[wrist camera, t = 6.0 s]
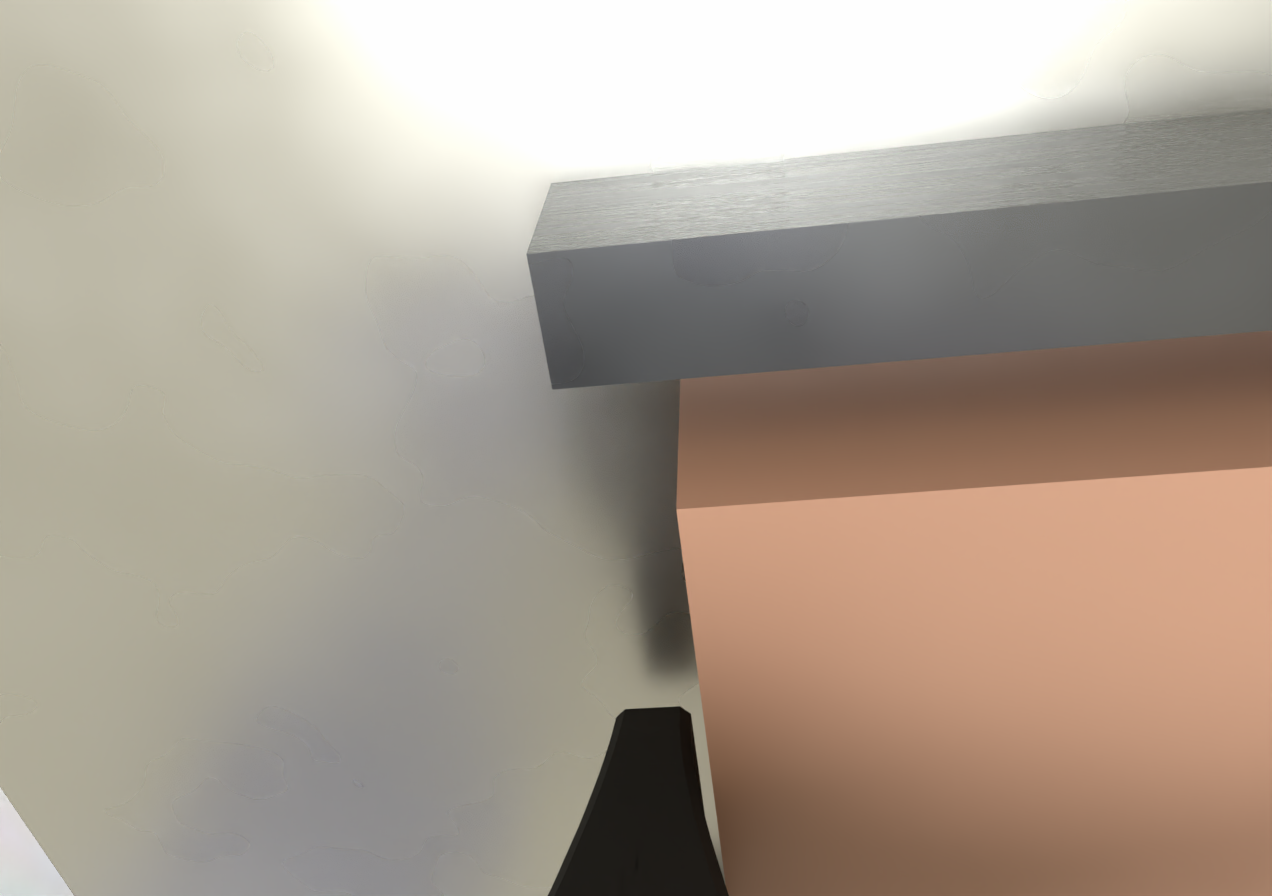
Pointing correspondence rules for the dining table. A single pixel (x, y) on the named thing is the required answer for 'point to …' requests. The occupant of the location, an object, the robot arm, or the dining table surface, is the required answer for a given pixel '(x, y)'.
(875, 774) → the peach rectangular panel
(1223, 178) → the dock
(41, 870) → the dining table surface
